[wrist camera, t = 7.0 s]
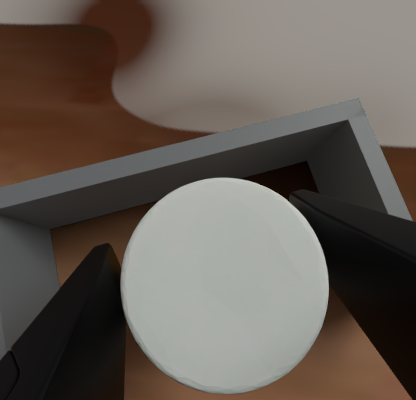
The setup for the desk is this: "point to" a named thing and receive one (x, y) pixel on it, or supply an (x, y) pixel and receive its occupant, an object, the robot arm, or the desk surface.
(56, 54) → the desk surface
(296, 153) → the open side box
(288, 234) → the supplement bottle
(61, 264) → the desk surface
